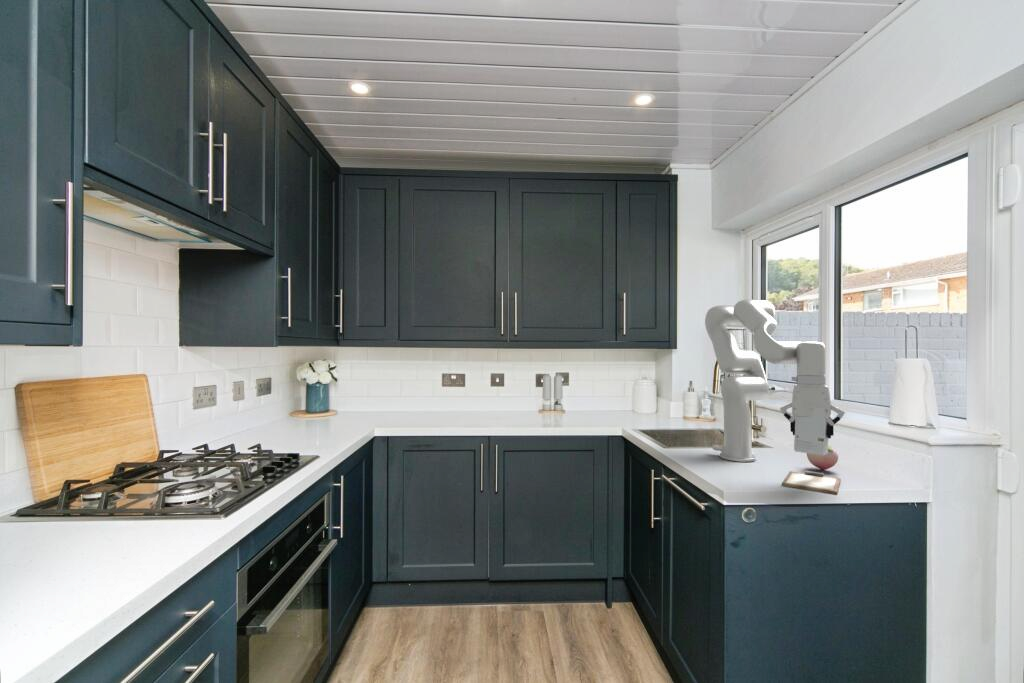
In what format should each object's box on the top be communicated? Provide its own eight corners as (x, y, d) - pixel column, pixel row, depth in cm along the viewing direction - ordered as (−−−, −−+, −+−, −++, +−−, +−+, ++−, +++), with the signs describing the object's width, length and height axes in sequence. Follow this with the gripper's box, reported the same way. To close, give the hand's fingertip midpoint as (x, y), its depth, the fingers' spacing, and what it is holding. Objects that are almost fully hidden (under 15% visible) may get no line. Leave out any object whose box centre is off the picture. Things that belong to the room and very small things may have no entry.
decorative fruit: (800, 467, 165) (800, 439, 165) (818, 466, 167) (818, 438, 167) (824, 474, 156) (823, 445, 156) (843, 473, 158) (843, 443, 158)
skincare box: (793, 451, 147) (793, 404, 147) (799, 448, 151) (799, 403, 151) (825, 456, 141) (824, 407, 141) (830, 453, 145) (829, 405, 145)
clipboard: (781, 485, 144) (781, 479, 144) (789, 473, 157) (789, 468, 157) (836, 494, 135) (836, 488, 135) (840, 481, 148) (840, 475, 148)
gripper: (777, 380, 149) (778, 434, 148) (844, 382, 138) (844, 441, 138) (781, 379, 155) (782, 431, 154) (845, 381, 144) (846, 437, 144)
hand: (811, 435), depth 146 cm, fingers closed on skincare box, 8 cm apart
